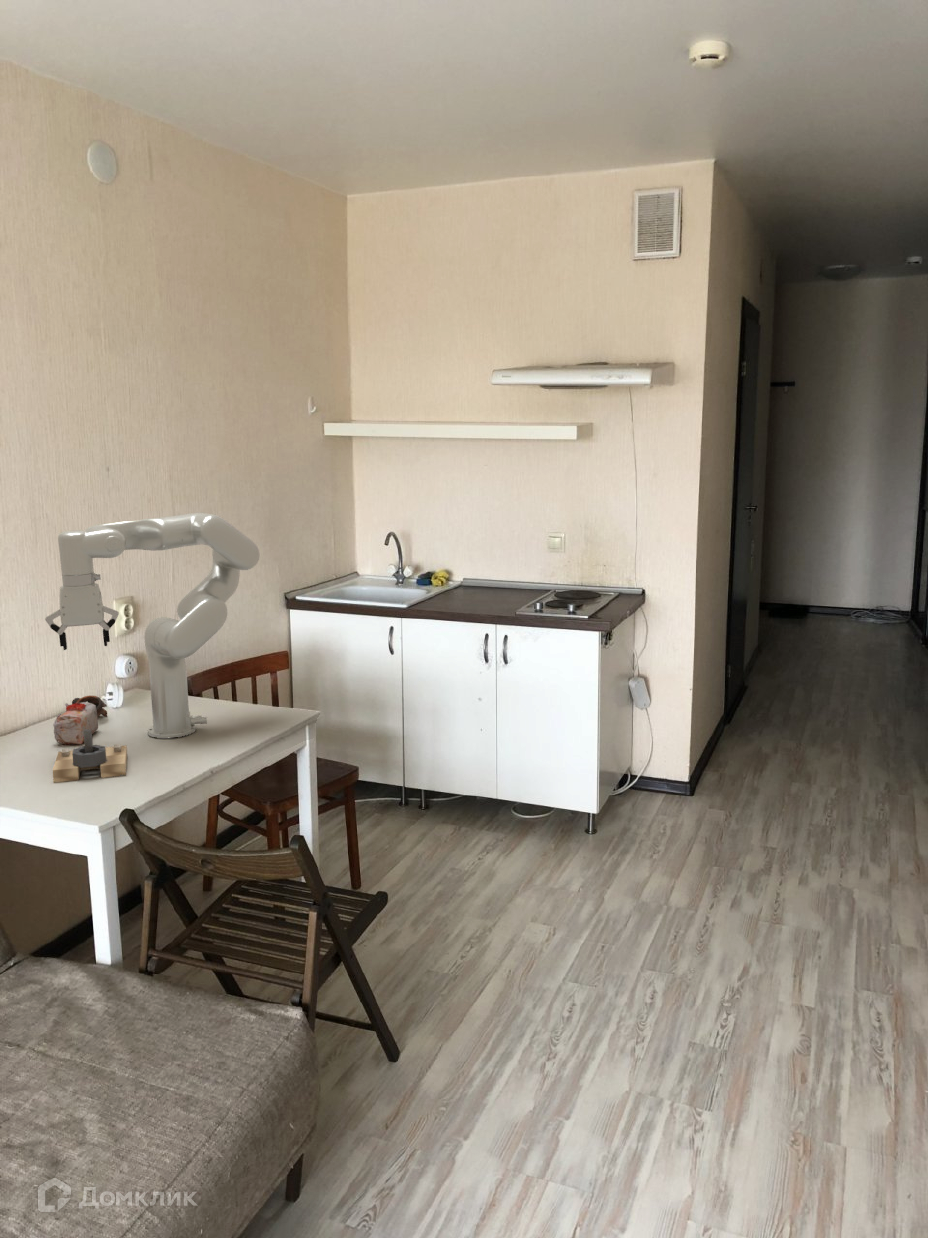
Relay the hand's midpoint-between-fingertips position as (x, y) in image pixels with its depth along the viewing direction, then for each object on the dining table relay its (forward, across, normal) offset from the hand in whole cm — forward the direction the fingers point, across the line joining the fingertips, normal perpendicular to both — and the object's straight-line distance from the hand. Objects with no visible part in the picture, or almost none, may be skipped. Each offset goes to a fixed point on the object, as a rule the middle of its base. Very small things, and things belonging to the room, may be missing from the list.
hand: (85, 647), depth 250 cm
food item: (+27, +5, -11) cm, 30 cm away
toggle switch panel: (+27, +1, +16) cm, 32 cm away
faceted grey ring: (+24, +1, +20) cm, 31 cm away
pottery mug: (+28, +2, -28) cm, 39 cm away
